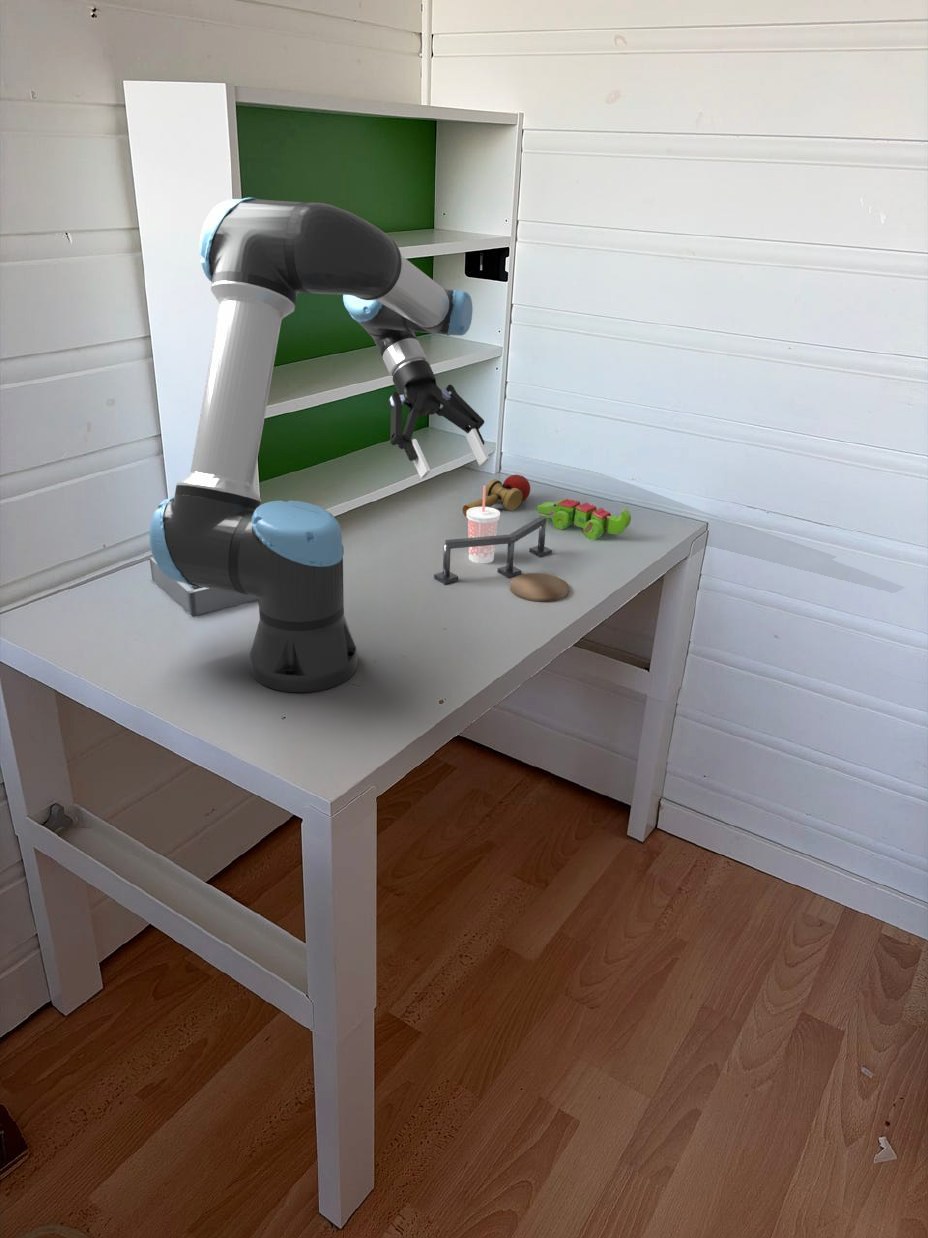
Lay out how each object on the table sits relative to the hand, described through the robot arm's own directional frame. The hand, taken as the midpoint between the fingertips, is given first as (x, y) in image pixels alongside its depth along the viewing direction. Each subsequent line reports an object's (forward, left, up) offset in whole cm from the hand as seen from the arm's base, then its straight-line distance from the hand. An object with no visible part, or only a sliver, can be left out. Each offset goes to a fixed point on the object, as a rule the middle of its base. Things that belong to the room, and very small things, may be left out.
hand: (455, 468), depth 172 cm
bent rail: (-1, -15, -15) cm, 21 cm away
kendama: (+19, +10, -15) cm, 26 cm away
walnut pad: (-1, -25, -15) cm, 29 cm away
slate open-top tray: (-47, +6, -15) cm, 49 cm away
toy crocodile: (+26, -8, -15) cm, 31 cm away
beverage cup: (-1, -9, -15) cm, 17 cm away
